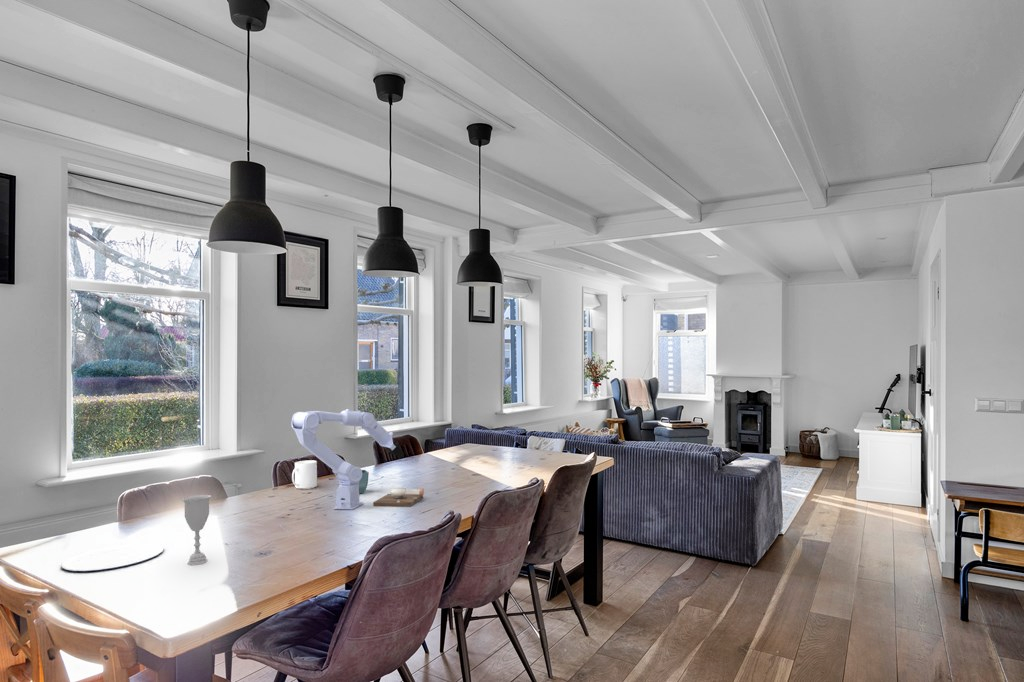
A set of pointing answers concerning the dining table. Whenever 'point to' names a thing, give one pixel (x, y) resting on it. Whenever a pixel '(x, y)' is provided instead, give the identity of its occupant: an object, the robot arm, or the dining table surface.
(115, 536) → the dining table surface
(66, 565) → the plate
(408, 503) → the strip board
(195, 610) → the dining table surface
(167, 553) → the dining table surface
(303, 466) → the mug
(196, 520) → the chalice
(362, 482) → the flower pot
